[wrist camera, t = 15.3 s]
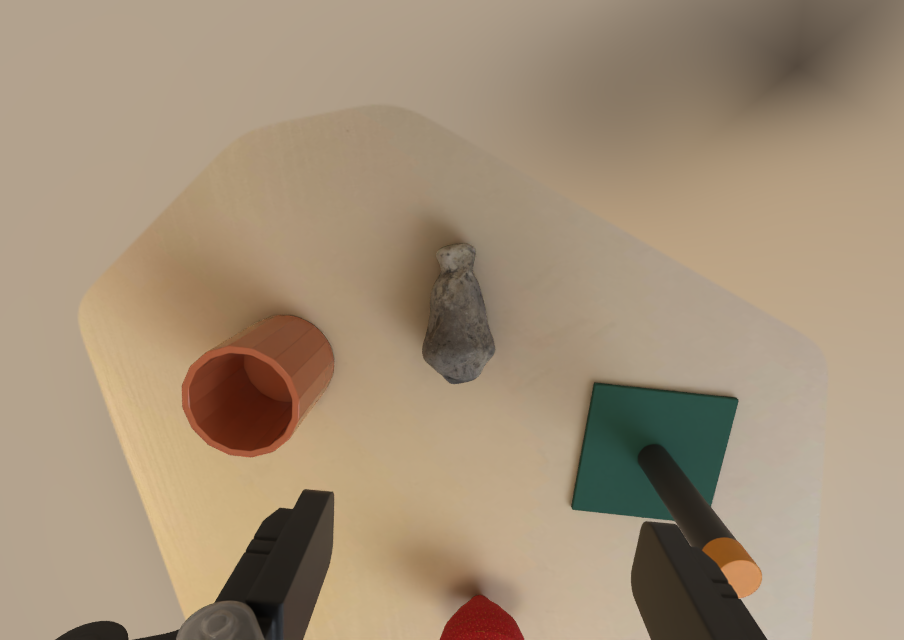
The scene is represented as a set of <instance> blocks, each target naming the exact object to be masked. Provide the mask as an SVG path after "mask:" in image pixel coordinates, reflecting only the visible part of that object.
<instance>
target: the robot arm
mask: <svg viewBox="0 0 904 640" xmlns="http://www.w3.org/2000/svg"><path fill="white" fill-rule="evenodd" d="M333 526H334V493H333V492H329V491H318V490H307V489H304V490H303V492H302V493H301V495H300V497H299V499H298V501H297V503H296V505H295V506H294V508H293V509H286V508H279V509H278V510H276V511H275V512H274V513H273V514H271V515H270V516H269V517H267V518H266V519H265V520H264V521H263V522H262V524H261V526H260V527H259V529H258V531H257V532H256V534H255V536H254V539H252V541H251V542H250V544H249V546H248V547H247V549H246V553H244V554H243V556H242V557H241V559H240V561H239V562H238V564H237V566H236V567H235V569H234V571H233V572H232V574H231V576H230V577H229V579H228V581H227V582H226V584H225V586H224V587H223V589H222V591H221V592H220V594H219V596H218V597H217V599H216V601H215V602H214V603H213V604H210V605H207V606H205V607H203V608H201V609H200V610H198V611H196V612H195V613H194V614H192V615H191V616H190V617H189V618H188V619H187V620H186V621H185V622H184V624H183V625H182V626H181V628H180V629H179V630H176V631H173V632H170V633H166V634H161V635H156V636H151V637H146V638H140V639H135V640H303V638H304V635H305V632H306V630H307V627H308V624H309V621H310V618H311V616H312V613H313V610H314V607H315V604H316V602H317V599H318V596H319V593H320V590H321V587H322V585H323V582H324V579H325V576H326V573H327V571H328V568H329V564H330V560H331V555H332V548H333ZM631 586H632V592H633V596H634V599H635V601H636V604H637V606H638V609H639V611H640V614H641V616H642V618H643V621H644V623H645V626H646V628H647V631H648V633H649V636H650V638H651V640H767V638H766V637H765V635H764V634H763V632H762V631H761V629H760V628H759V626H758V625H757V623H756V622H755V620H754V619H753V617H752V616H751V614H750V613H749V611H748V610H747V608H746V607H745V605H744V604H743V602H742V601H741V599H738V595H737V593H736V592H735V590H734V589H733V587H732V585H731V584H729V583H728V579H727V578H726V576H725V575H724V573H723V572H722V570H721V569H720V567H719V566H718V564H717V563H716V562H715V561H714V560H712V559H711V558H710V557H709V556H708V555H707V554H706V553H704V552H703V551H702V550H701V549H700V548H699V547H691V546H690V545H689V543H688V541H687V540H686V538H685V536H684V535H683V533H682V532H681V530H680V528H679V527H678V526H677V525H676V524H669V523H658V522H647V521H646V522H644V523H643V524H642V527H641V530H640V535H639V539H638V544H637V548H636V553H635V557H634V562H633V566H632V571H631ZM56 640H128V633H127V631H126V629H125V628H124V627H123V626H122V625H120V624H118V623H115V622H110V621H99V622H92V623H88V624H85V625H82V626H79V627H77V628H75V629H72V630H70V631H68V632H67V633H65V634H63V635H62V636H60V637H59V638H57V639H56Z"/></svg>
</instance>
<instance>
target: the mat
mask: <svg viewBox="0 0 904 640" xmlns="http://www.w3.org/2000/svg"><path fill="white" fill-rule="evenodd" d="M738 401H739V400H738V399H737V398H733V397H724V396H715V395H705V394H696V393H687V392H677V391H668V390H659V389H649V388H640V387H631V386H621V385H612V384H603V383H594V386H593V391H592V397H591V402H590V407H589V413H588V418H587V424H586V429H585V435H584V440H583V446H582V451H581V456H580V462H579V467H578V473H577V478H576V484H575V489H574V495H573V500H572V506H571V507H572V509H573V510H581V511H590V512H599V513H608V514H617V515H626V516H636V517H645V518H654V519H663V520H672V521H675V520H674V519H673V517H672V515H671V514H670V512H669V511H668V509H667V508H666V506H665V504H664V503H663V501H662V500H661V498H660V497H659V495H658V493H657V492H656V490H655V489H654V487H653V486H652V484H651V482H650V481H649V479H648V478H647V476H646V475H645V473H644V471H643V470H642V468H641V467H640V465H639V463H638V455H639V452H640V451H641V450H642V449H643V448H644V447H646V446H648V445H651V444H657V445H661V446H662V447H664V448H665V449H666V450H667V452H668V453H669V454H670V455H671V457H672V458H673V459H674V460H675V462H676V463H677V464H678V466H679V467H680V468H681V469H682V471H683V472H684V473H685V475H686V476H687V477H688V478H689V480H690V481H691V482H692V484H693V485H694V486H695V487H696V489H697V490H698V491H699V493H700V494H701V495H702V496H703V498H704V499H705V500H706V502H707V503H708V504H709V505H710V507H711V504H712V500H713V496H714V493H715V489H716V485H717V481H718V477H719V474H720V470H721V466H722V462H723V458H724V454H725V451H726V447H727V443H728V439H729V435H730V432H731V428H732V424H733V420H734V416H735V413H736V409H737V405H738Z"/></svg>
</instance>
